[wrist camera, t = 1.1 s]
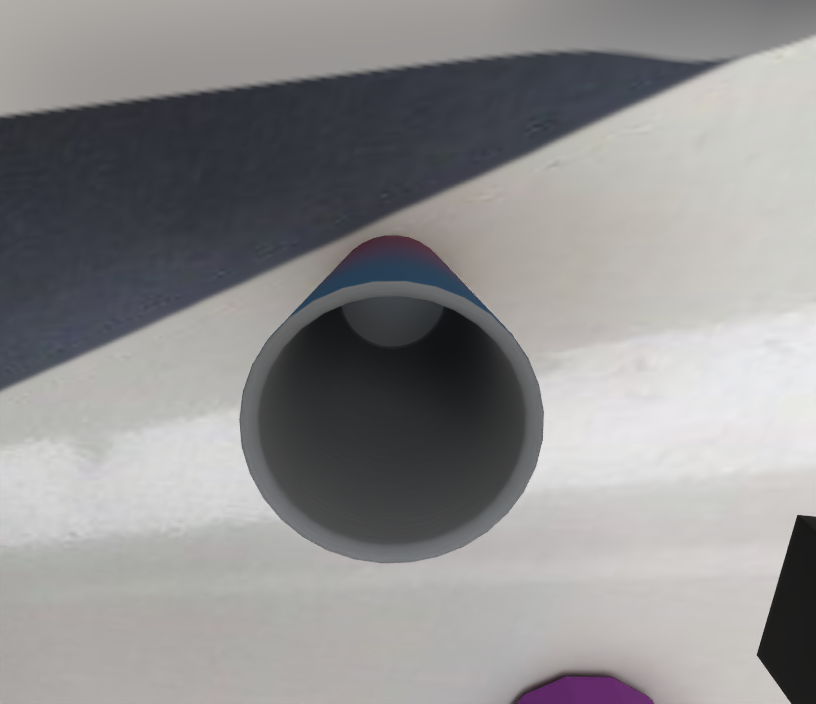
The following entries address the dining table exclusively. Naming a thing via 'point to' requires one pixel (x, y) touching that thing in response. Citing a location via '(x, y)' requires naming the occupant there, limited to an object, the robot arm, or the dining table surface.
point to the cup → (391, 410)
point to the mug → (585, 692)
